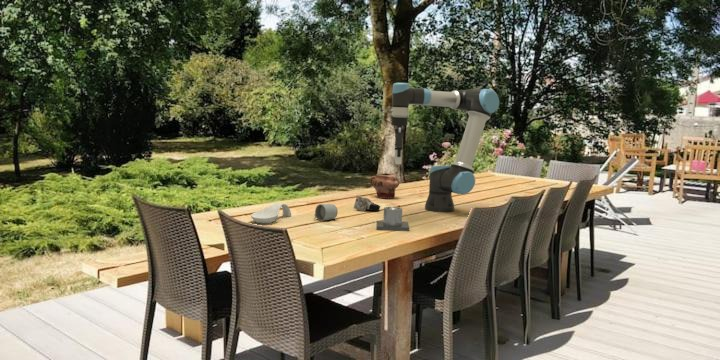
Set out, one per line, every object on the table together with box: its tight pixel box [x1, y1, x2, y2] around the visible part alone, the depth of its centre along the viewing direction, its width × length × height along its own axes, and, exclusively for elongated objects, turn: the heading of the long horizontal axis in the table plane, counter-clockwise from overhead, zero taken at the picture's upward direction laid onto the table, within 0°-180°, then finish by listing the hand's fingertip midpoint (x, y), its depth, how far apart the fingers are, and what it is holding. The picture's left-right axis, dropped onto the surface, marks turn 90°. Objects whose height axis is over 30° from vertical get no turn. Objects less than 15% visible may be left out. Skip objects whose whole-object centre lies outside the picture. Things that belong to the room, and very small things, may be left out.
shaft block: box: [376, 208, 410, 232], centre depth 248 cm, size 14×12×8 cm
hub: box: [382, 206, 403, 226], centre depth 248 cm, size 8×8×7 cm
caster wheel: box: [353, 195, 381, 213], centre depth 287 cm, size 7×11×10 cm
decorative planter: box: [369, 173, 400, 199], centre depth 329 cm, size 20×12×14 cm, turn 58°
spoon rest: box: [250, 202, 292, 225], centre depth 255 cm, size 24×12×7 cm, turn 154°
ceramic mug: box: [314, 203, 338, 222], centre depth 261 cm, size 11×8×8 cm
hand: (397, 162), depth 263 cm, fingers open, 13 cm apart
